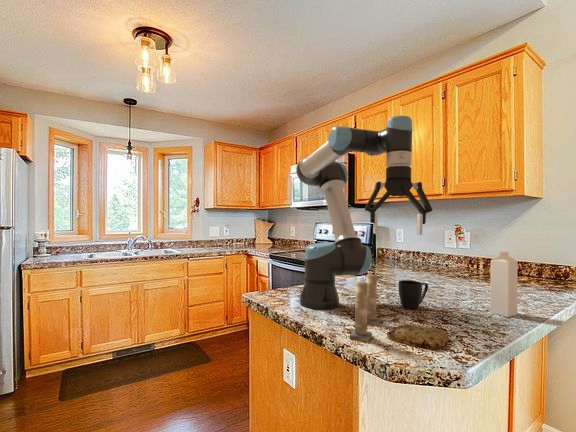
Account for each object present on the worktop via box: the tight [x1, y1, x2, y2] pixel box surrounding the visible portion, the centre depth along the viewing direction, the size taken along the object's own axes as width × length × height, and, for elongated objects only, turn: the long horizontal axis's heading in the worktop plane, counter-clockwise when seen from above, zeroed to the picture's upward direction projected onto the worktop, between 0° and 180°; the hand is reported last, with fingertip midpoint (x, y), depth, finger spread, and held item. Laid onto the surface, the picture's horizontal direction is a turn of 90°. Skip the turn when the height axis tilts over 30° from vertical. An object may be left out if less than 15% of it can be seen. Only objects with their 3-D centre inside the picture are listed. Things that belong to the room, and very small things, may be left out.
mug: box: [398, 279, 429, 311], centre depth 117 cm, size 8×12×10 cm
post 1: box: [349, 281, 373, 343], centre depth 86 cm, size 5×5×15 cm
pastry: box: [386, 323, 450, 351], centre depth 86 cm, size 17×17×3 cm
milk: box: [489, 251, 519, 318], centre depth 110 cm, size 6×6×22 cm
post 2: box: [365, 273, 381, 327], centre depth 99 cm, size 5×5×15 cm
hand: (397, 234), depth 98 cm, fingers open, 13 cm apart
